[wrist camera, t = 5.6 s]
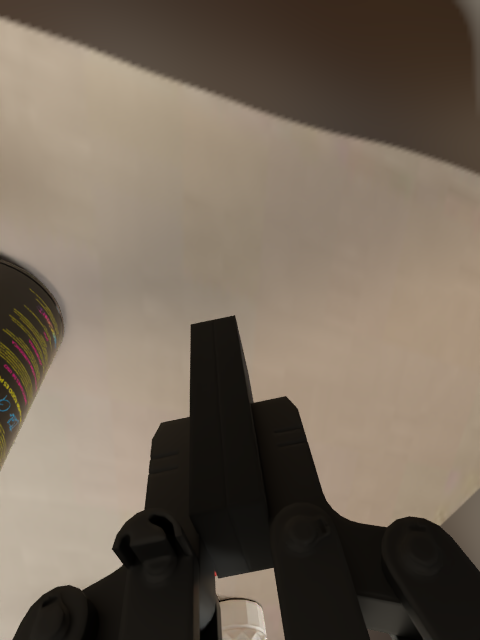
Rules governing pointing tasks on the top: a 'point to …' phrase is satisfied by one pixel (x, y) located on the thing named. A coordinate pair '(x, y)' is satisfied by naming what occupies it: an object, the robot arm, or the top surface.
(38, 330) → the supplement container
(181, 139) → the top surface
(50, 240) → the top surface
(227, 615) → the white cup
